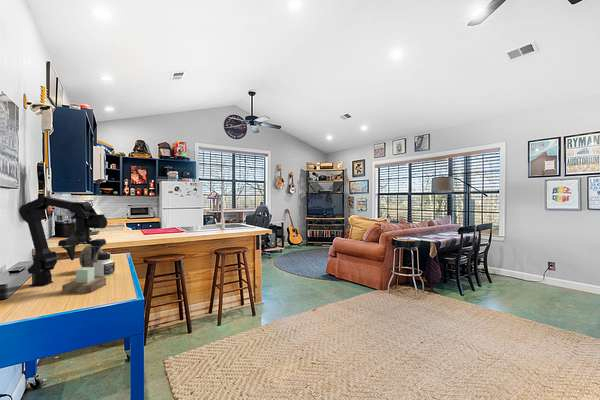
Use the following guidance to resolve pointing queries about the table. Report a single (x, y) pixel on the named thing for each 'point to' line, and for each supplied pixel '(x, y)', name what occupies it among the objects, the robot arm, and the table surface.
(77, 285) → the walnut block
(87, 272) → the sage pill box
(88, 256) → the decorative egg
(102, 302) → the table surface
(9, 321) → the table surface
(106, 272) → the medicine bottle
